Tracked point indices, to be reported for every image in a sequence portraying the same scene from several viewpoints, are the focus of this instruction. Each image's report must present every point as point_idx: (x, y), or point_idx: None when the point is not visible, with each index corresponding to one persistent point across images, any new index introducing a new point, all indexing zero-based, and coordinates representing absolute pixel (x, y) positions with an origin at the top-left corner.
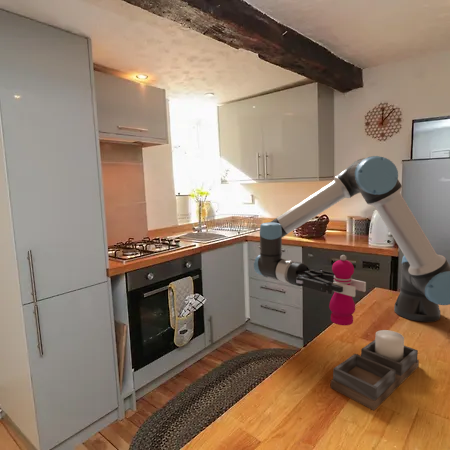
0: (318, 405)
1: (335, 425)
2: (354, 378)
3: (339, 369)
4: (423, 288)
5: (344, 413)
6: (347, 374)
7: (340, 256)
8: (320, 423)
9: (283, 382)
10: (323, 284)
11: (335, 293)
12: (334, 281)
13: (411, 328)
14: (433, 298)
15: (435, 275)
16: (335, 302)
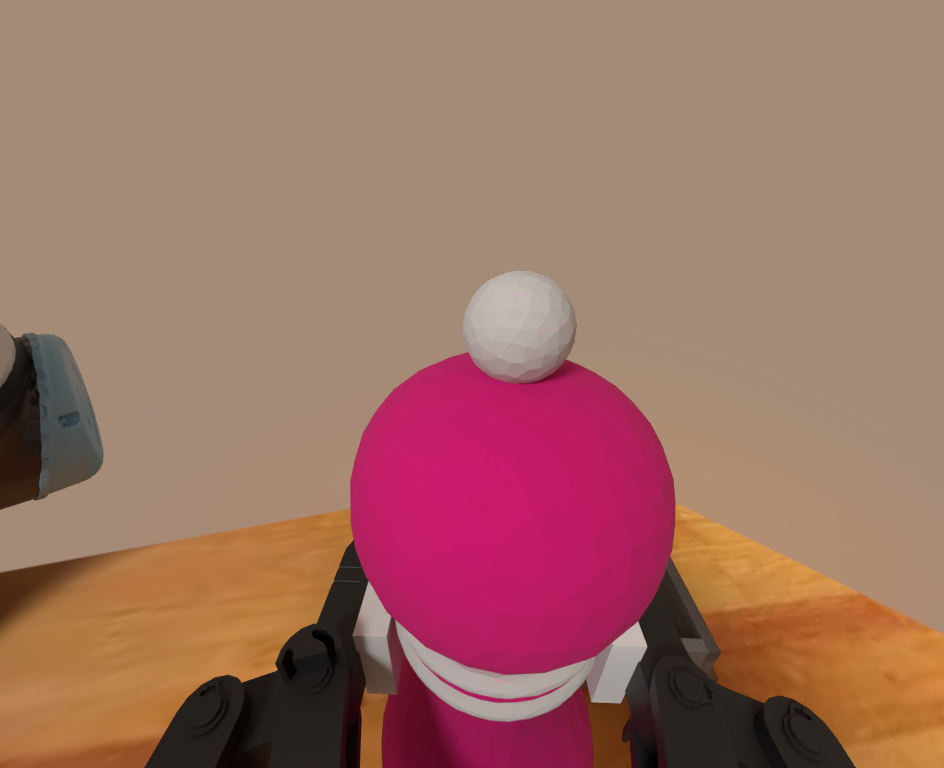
0: (799, 669)
1: (775, 592)
2: (678, 573)
3: (698, 632)
4: (10, 466)
5: (727, 597)
6: (687, 597)
7: (564, 313)
8: (819, 621)
9: None
10: (822, 730)
11: (565, 710)
12: (592, 661)
13: (50, 659)
14: (98, 458)
15: (35, 369)
16: (586, 712)
